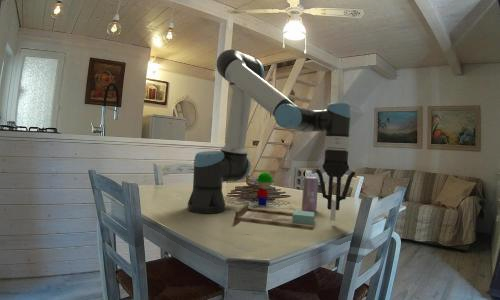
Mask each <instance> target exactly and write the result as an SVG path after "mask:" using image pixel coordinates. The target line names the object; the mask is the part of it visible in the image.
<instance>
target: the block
mask: <svg viewBox="0 0 500 300" xmlns="http://www.w3.org/2000/svg"><path fill="white" fill-rule="evenodd" d="M292 213H293V216H291V217H292V218H291V219H292V223H295V224H304V225H312V226H313V227H314V224H315V223H314V222H315V211H313V212H311V211H304V210H299V209H298V210H297V209H294V210H293V212H292Z"/></svg>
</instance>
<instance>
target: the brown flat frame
mask: <svg viewBox="0 0 500 300" xmlns="http://www.w3.org/2000/svg"><path fill="white" fill-rule="evenodd" d="M279 215H280V216H282V215H283V216H289V217H290V216H291V217H293V212H288V211H279V210H271V209H262V208H261V209H260V208H254V207H253V208H252V207H251V208H250V207H249V204H247V203H245V204H244V205H242V206H241V207H239V209H237V210H236V211H235V214H234V217H233V224H234V225H238V224H239V223H241V222H250V223H255V224H257V223H258V224H266V225H274V226H280V227H281V226H282V227H290V228H300V229H306V230H314V225H313V226H312V225H304V224H295V223H292V218H291V219H290V218H283V217H278V216H279Z"/></svg>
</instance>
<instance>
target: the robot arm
mask: <svg viewBox="0 0 500 300" xmlns="http://www.w3.org/2000/svg"><path fill="white" fill-rule="evenodd" d="M216 71H217V72H218V74H219V75H220V76H221V77H222V79H223V78H224V80H226V82H228V83H229V87H230V88H231V90H232V91H231V99H230V108H229V114H228V121H227V130H226V136H225V143H224V146H222V148H220V151H219V150H207V151H205V150H204V151H200V152H198V153H196V154H195V156H194V162H193V181H192V182H193V183H192V191H191V194H190V196H189V199H188V201H187V207H186V208H187V210H188V211H189V212H192V213H197V214H217V213H222V212H224V211H226V200H225V197H224V194H223V183H224V182H225V183H228V182H238V181H241V180H244V179H245V178H247V176H249V173H250V171H251V166H252V165H251V161H250V159H249V157H248V151H247V150H246V147H245V146H246V141H247V133H248V127H249V126H248V125H249V119H250V111H251V105H252V100H254V102H256V103H257V104H259V106H261V107H262V108H263V109H264V110H265V111H267V112H268V113H269V114H270V115H271V116H273V117H274V120H275V123H276V124H277V125H278V126H279V127H281V128H284V129H287V130H295V131H297V132H303V133H310V132H311V133H313V132H315V133H317V132H319V133H321V132H322V133H323V132H325V144H324V147H325V151H324V159H323V164H322V166H321V167H319V168H317V169H316V170H315V172H316V174H317V176H318V181H319V184H320V190H321V194H322V198H323V199H326V200H327V210H330V215H329V216H330V218H329V220H330V221H334V222H335V221H336V212H337V211H339V210H340V202H341V201H343V200H346V199H347V196H348V195H347V194H348V192H349V188H350V185H351V183H352V179H353V178H354V177H355V175H356V172H355V171H354V170H352V169H350V167H349V164H348V161H349V151H348V149H349V147H350V146H349V144H350V143H349V142H350V124H351V123H350V122H351V117H352V116H351V105H350V104H348V103H346V102H331V103H328V104H327V106H326V109H321V110H320V109H319V110H318V109H316V110H315V109H309V108H304V107H301V106H299V105H297V104H296V103H294V102H293V101H291V100H290V99H289V98H288V97H286V96H285V94H282V93H281V92H280V91H278V90H277V89H276V88H275V87H273V86H272V85H271V84H270V83H268V81H266V80H265V79H264V76H265V69H264V65H263V64H262V62H261V61H260V60H259V59H257V58H256V57H253V56H251V55H249V54H246V53H243V52H241V51H239V50H236V49H226V50H224V51H222V52H221V53H220V54H219V55H218V57H217V60H216ZM324 171H325V174H326V175H327V176H328V188H327V189H328V191H327V190H326V188H325V187H326V186H325V182H324V177H323V174H324ZM346 173H347V178H346V180H345V183H344V187H343V191H342V193H341V186H342V185H341V184H342V177H343V176H344V175H346ZM334 178H336V188H335V199H333V186H334V185H333V181H334ZM326 191H327V192H326Z"/></svg>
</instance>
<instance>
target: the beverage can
mask: <svg viewBox="0 0 500 300" xmlns="http://www.w3.org/2000/svg"><path fill="white" fill-rule="evenodd" d="M318 190H319V177H317V176H303V180H302V198H301V201H302V202H301V211H309V212H317V208H318V206H317V205H318Z"/></svg>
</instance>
